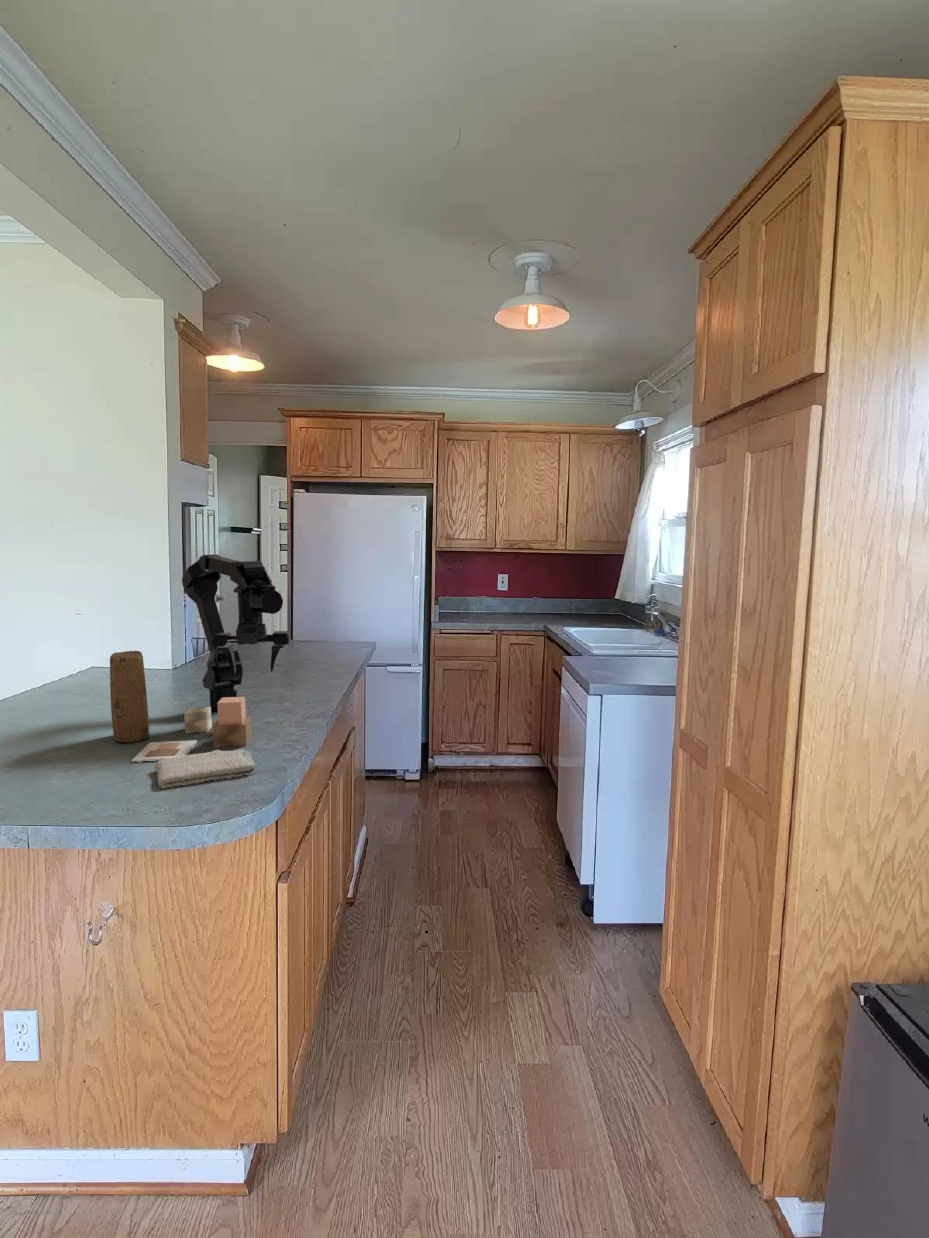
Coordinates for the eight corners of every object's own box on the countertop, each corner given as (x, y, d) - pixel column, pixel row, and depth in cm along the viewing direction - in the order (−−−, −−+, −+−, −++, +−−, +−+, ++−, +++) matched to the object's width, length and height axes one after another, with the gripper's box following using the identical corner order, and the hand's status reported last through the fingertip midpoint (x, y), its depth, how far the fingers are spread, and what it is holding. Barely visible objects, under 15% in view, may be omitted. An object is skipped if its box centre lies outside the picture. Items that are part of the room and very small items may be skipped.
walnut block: (213, 748, 147) (212, 726, 146) (220, 738, 154) (219, 717, 153) (246, 746, 148) (245, 724, 147) (252, 737, 155) (251, 716, 154)
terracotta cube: (218, 725, 147) (217, 702, 147) (223, 718, 152) (222, 697, 152) (241, 724, 148) (240, 702, 147) (246, 717, 153) (245, 696, 152)
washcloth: (259, 776, 130) (258, 761, 130) (158, 793, 122) (157, 776, 122) (248, 758, 141) (247, 744, 140) (154, 773, 132) (154, 758, 132)
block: (150, 741, 152) (144, 654, 149) (113, 746, 148) (106, 657, 146) (148, 729, 161) (143, 647, 159) (113, 733, 158) (107, 650, 156)
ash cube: (185, 733, 158) (184, 712, 157) (190, 727, 163) (189, 707, 162) (207, 732, 159) (206, 711, 158) (211, 726, 164) (210, 706, 163)
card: (132, 762, 137) (131, 759, 137) (149, 745, 149) (149, 741, 149) (183, 759, 139) (183, 756, 139) (196, 742, 150) (196, 739, 150)
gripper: (204, 615, 158) (207, 680, 160) (285, 613, 161) (287, 677, 163) (214, 610, 169) (217, 671, 171) (289, 609, 172) (292, 668, 174)
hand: (253, 672), depth 169 cm, fingers open, 9 cm apart
